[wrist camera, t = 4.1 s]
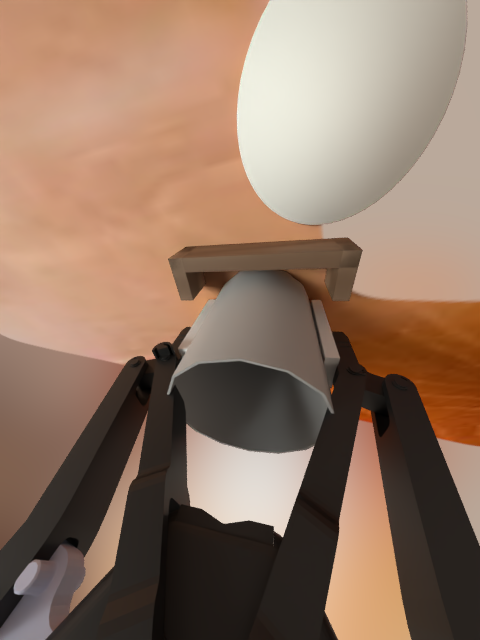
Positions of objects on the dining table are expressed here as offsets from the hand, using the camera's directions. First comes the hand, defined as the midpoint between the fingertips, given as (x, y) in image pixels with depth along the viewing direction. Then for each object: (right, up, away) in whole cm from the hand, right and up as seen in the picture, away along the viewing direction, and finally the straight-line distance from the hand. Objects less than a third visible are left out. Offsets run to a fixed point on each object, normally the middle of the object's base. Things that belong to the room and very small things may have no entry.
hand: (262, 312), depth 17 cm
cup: (0, 0, 0) cm, 1 cm away
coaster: (+3, +10, -7) cm, 13 cm away
